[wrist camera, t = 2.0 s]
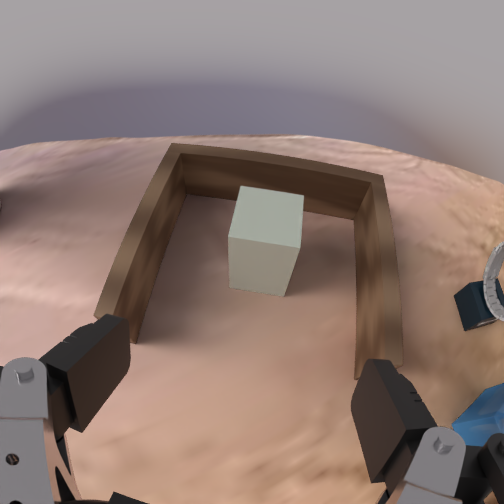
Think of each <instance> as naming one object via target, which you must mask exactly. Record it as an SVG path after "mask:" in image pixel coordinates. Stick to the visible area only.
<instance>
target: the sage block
mask: <svg viewBox="0 0 504 504" xmlns="http://www.w3.org/2000/svg"><path fill="white" fill-rule="evenodd" d="M303 202H304V195H298V194H292V193H286V192H279V191H273V190H266V189H260V188H253V187H246V186H241V187H240V191H239V194H238V198H237V202H236V206H235V210H234V214H233V218H232V222H231V226H230V230H229V234H228V259H229V288H233V289H239V290H245V291H251V292H257V293H264V294H270V295H277V296H283V297H284V295H285V292H286V289H287V286H288V283H289V280H290V277H291V274H292V272H293V269H294V266H295V263H296V260H297V257H298V254H299V251H300V246H301V233H302V218H303Z"/></svg>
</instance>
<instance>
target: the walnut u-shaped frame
mask: <svg viewBox="0 0 504 504" xmlns="http://www.w3.org/2000/svg"><path fill="white" fill-rule="evenodd" d="M241 186H246V187H253V188H260V189H266V190H273V191H279V192H286V193H292V194H298V195H304V202H303V211H307V212H313V213H319V214H325V215H330V216H336V217H341V218H347V219H352V220H354V232H355V252H356V288H357V319H356V355H355V374H354V380H359V378H360V375H361V372H362V370H363V367H364V364H365V362H366V361H367V360H368V359H386V360H390V361H391V362H392V364H393V365H394V367H395V369H396V368H398V367H401V366H403V336H402V313H401V298H400V286H399V275H398V266H397V257H396V249H395V242H394V235H393V228H392V222H391V216H390V210H389V204H388V199H387V193H386V188H385V183H384V179H383V175H379V174H375V173H370V172H366V171H361V170H357V169H352V168H348V167H343V166H338V165H333V164H328V163H323V162H317V161H312V160H306V159H301V158H295V157H289V156H282V155H276V154H269V153H262V152H255V151H247V150H239V149H231V148H222V147H212V146H202V145H190V144H177V143H171V145H170V147H169V149H168V151H167V152H166V154H165V156H164V158H163V160H162V161H161V163H160V165H159V167H158V169H157V171H156V173H155V175H154V176H153V178H152V180H151V182H150V184H149V186H148V188H147V190H146V192H145V194H144V196H143V198H142V200H141V202H140V204H139V206H138V209H137V211H136V213H135V215H134V217H133V219H132V221H131V224H130V226H129V228H128V230H127V232H126V235H125V237H124V239H123V241H122V244H121V246H120V248H119V251H118V253H117V255H116V258H115V260H114V263H113V265H112V268H111V270H110V273H109V275H108V278H107V280H106V283H105V285H104V288H103V291H102V293H101V296H100V299H99V302H98V304H97V307H96V310H95V313H94V316H95V317H96V318H97V319H98V320H99V319H100V318H101V317H102V316H104V315H105V314H111V315H115V316H119V317H123V318H126V319H127V320H128V321H129V330H130V343H134V344H136V342H137V338H138V335H139V331H140V328H141V324H142V321H143V318H144V314H145V311H146V308H147V305H148V301H149V298H150V295H151V292H152V289H153V286H154V283H155V280H156V277H157V274H158V271H159V268H160V265H161V262H162V259H163V256H164V253H165V250H166V248H167V245H168V242H169V239H170V237H171V234H172V231H173V228H174V226H175V223H176V220H177V218H178V215H179V212H180V210H181V207H182V205H183V202H184V200H185V197H186V195H187V194H192V195H200V196H208V197H215V198H223V199H230V200H237V198H238V194H239V191H240V187H241Z"/></svg>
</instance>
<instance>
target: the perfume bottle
mask: <svg viewBox="0 0 504 504" xmlns="http://www.w3.org/2000/svg"><path fill="white" fill-rule="evenodd" d="M452 427H453V429H454V431H455V432H456V433H458V434H459V435H460V436H461V437H462V438H463V440H464V442H465V445H470V446H484V444H485V443H486V442H487V440H488V439H489V437H490V436H491V435H493V434H496V433H504V383H502V384H499V385H496V386H494V387H491V388H488V389H485V391H484V392H483V393H482V394H481V395H480V396H479V397H478V398H477V399H476V400H475V401H474V402H473V404H472V405H471V406H470V407H469V408H468V409H467V410H466V411H465V412H464V413H463V414H462V415H461V416H460V417H459V418H458V419H457V420H456V421H455V422H453V423H452Z"/></svg>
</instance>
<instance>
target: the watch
mask: <svg viewBox="0 0 504 504" xmlns="http://www.w3.org/2000/svg"><path fill="white" fill-rule="evenodd" d="M503 261H504V242H501V243H500V244H499V245H498V246H497V247H495V248H494V249H493V251H492V253H491V255H490V257H489V259H488V262H487V264H486V267H485V271H484V274H483V279H484V281H478V282H471V283H469V284H467V285H466V286H465V287H464V288H463V289H461V290H460V291H459V292H458V293H457V294H455V295H454V298H455V301H456V304H457V307H458V311H459V314H460V317H461V321H462V325H463V328H464V331H467V330H471V329H474V328H478V327H481V326H485V325H488V324H491V323H494V322H495V321H497V320H498V319H499V320H501V321H504V294H503V291H502V288H501V286H500V283H499V280H498V278H497V279H496V277H498V275H499V271H500V268H501V266H502V263H503Z"/></svg>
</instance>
